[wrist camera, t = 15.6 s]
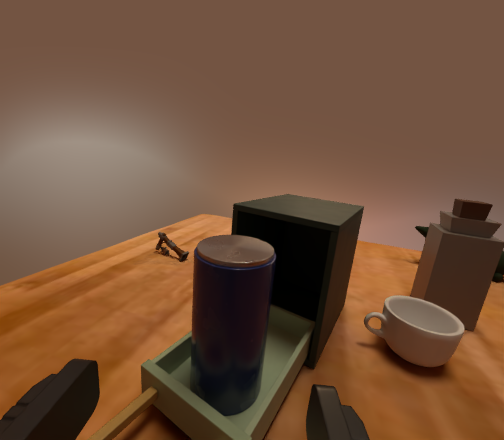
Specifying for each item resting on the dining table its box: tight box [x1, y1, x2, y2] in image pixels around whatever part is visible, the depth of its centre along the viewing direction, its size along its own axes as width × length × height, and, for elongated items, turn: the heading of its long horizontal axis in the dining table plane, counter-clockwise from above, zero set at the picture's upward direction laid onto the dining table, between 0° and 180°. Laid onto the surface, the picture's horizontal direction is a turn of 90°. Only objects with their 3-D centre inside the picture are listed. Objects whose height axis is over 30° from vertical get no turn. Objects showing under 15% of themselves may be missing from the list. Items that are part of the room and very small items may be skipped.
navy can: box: [190, 235, 276, 416], centre depth 21 cm, size 6×6×13 cm
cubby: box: [231, 194, 364, 369], centre depth 33 cm, size 15×12×16 cm
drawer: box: [87, 304, 315, 440], centre depth 21 cm, size 21×10×3 cm, turn 148°
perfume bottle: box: [410, 199, 504, 331], centre depth 37 cm, size 7×7×18 cm
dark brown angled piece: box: [156, 232, 189, 261], centre depth 51 cm, size 2×8×4 cm, turn 63°
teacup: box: [364, 296, 465, 367], centre depth 29 cm, size 10×8×5 cm
